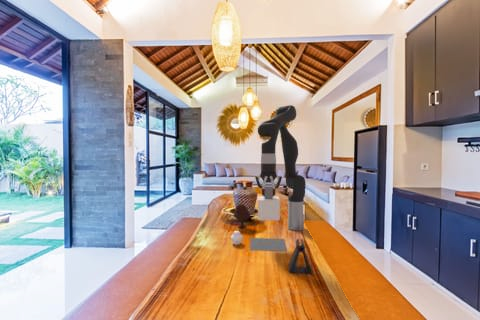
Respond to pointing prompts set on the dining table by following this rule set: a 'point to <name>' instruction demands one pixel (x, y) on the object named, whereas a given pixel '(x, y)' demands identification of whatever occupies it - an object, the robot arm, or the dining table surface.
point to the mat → (267, 244)
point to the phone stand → (293, 261)
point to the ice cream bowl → (242, 214)
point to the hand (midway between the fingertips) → (268, 196)
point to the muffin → (236, 237)
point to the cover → (268, 205)
